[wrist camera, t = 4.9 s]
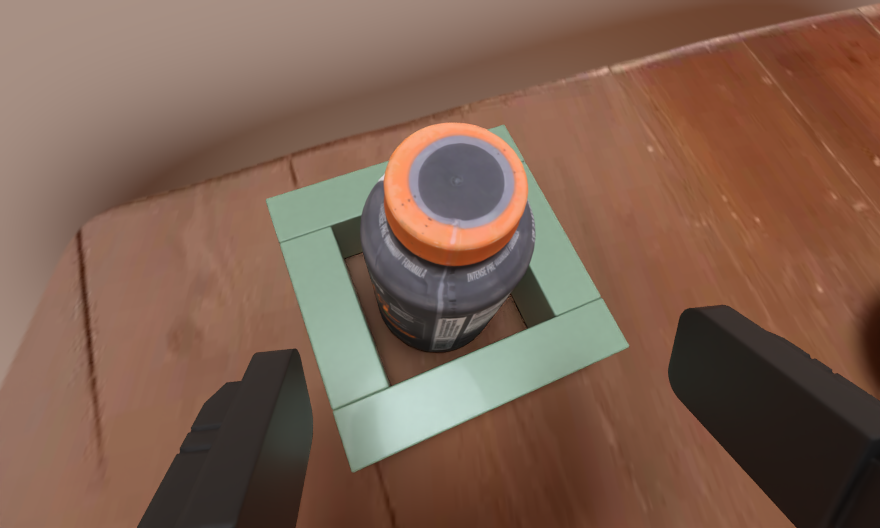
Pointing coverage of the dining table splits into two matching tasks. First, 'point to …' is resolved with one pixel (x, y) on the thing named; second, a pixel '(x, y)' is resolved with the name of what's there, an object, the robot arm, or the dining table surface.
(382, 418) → the holder
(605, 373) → the dining table surface
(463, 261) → the pill bottle
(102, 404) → the dining table surface
